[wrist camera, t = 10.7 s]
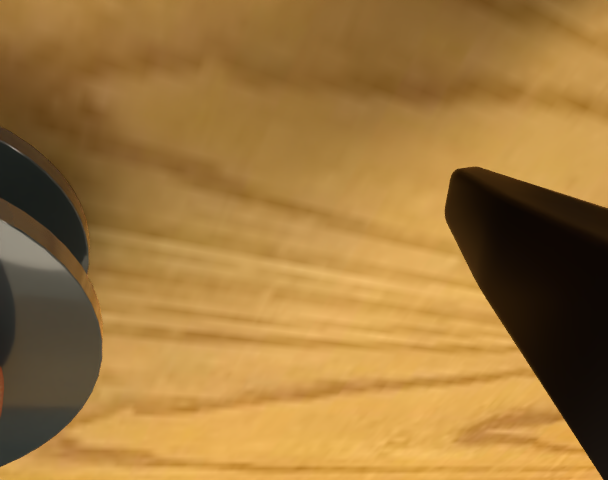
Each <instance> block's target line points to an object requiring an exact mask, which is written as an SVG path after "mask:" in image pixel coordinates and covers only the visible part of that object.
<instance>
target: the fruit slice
mask: <svg viewBox="0 0 608 480" xmlns="http://www.w3.org/2000/svg"><path fill="white" fill-rule="evenodd" d="M3 394H4V378H3V372H2V368H1V366H0V417H1V412H2V405H3Z"/></svg>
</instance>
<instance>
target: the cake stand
mask: <svg viewBox="0 0 608 480" xmlns="http://www.w3.org/2000/svg"><path fill="white" fill-rule="evenodd" d="M89 253H90V240H89V231H88V225H87V220H86V218H85V215H84V212H83V209H82V206H81V204H80V202H79V200H78V198H77V196H76V194H75V193H74V191H73V189H72V188H71V186H70V185H69V184H68V182H67V181H66V179H65V178H64V177H63V175H62V174H61V173H60V172H59V171H58V170H57V169H56V168H55V167H54V165H53V164H52V163H51V162H50V161H49V160H48V159H47V158H45V157H44V156H43V155H42V154H41V153H40V152H38V151H37V150H36V149H35V148H34V147H32V146H31V145H30V144H28V143H27V142H25V141H24V140H22V139H21V138H19V137H18V136H16V135H15V134H13V133H12V132H10V131H8V130H6V129H4V128H2V127H0V366H1V368H2V372H3V378H4V394H3V405H2V412H1V417H0V467H1V466H3V465H6V464H8V463H10V462H12V461H14V460H17V459H19V458H21V457H23V456H24V455H26V454H28V453H30V452H31V451H33V450H35V449H37V448H39V447H40V446H41V445H43V444H44V443H46V442H47V441H48V440H50V439H51V438H53V437H54V436H55V435H57V434H58V433H59V432H60V431H61V430H62V429H63V428H64V427H65V426H67V425H68V424H69V423H70V422H71V421H72V419H73V418H74V417H75V416H76V415H77V414H78V412H79V411H80V410H81V409H82V407H83V406H84V404H85V403H86V401H87V399H88V398H89V396H90V394H91V393H92V391H93V388H94V386H95V384H96V381H97V379H98V376H99V372H100V367H101V362H102V329H103V321H102V315H101V310H100V304H99V301H98V298H97V296H96V293H95V290H94V287H93V285H92V283H91V281H90V279H89V278H88V276H87V274H88V268H89Z"/></svg>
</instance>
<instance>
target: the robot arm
mask: <svg viewBox="0 0 608 480" xmlns="http://www.w3.org/2000/svg"><path fill="white" fill-rule="evenodd" d="M445 218H446V222H447V224H448V226H449V228H450V230H451V232H452V234H453V236H454V238H455V240H456V242H457V244H458V246H459V248H460V250H461V252H462V254H463V256H464V258H465V260H466V262H467V264H468V266H469V268H470V270H471V272H472V274H473V276H474V278H475V280H476V282H477V284H478V286H479V287H480V289H481V291H482V292H483V294H484V296H485V297H486V299H487V300H488V302H489V303H490V305H491V307H492V308H493V310H494V311H495V313H496V314H497V316H498V317H499V319H500V320H501V322H502V324H503V325H504V327H505V328H506V330H507V331H508V333H509V334H510V336H511V337H512V339H513V341H514V342H515V344H516V345H517V347H518V348H519V350H520V351H521V353H522V354H523V356H524V358H525V359H526V361H527V362H528V364H529V365H530V367H531V368H532V370H533V371H534V373H535V375H536V376H537V378H538V379H539V381H540V382H541V384H542V385H543V387H544V388H545V390H546V392H547V393H548V395H549V396H550V398H551V399H552V401H553V402H554V404H555V405H556V407H557V409H558V410H559V412H560V413H561V415H562V416H563V418H564V419H565V421H566V422H567V424H568V426H569V427H570V429H571V430H572V432H573V433H574V435H575V436H576V438H577V439H578V441H579V443H580V444H581V446H582V447H583V449H584V450H585V452H586V453H587V455H588V456H589V458H590V460H591V461H592V463H593V464H594V466H595V467H596V469H597V470H598V472H599V473H600V475H601V477H602V478H603V480H608V208H605V207H602V206H599V205H596V204H592V203H589V202H586V201H583V200H580V199H577V198H574V197H571V196H567V195H564V194H561V193H558V192H555V191H552V190H549V189H546V188H542V187H539V186H536V185H533V184H530V183H527V182H524V181H520V180H517V179H514V178H511V177H508V176H505V175H502V174H499V173H495V172H492V171H489V170H486V169H483V168H480V167H468V168H461V169H457V170H455V171H454V172H453V173H452V175H451V179H450V184H449V189H448V194H447V200H446V205H445Z"/></svg>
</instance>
